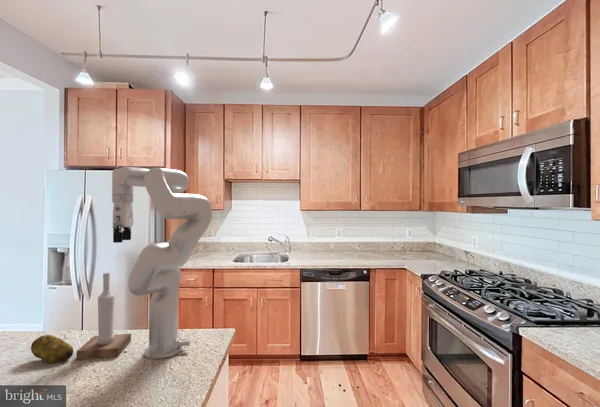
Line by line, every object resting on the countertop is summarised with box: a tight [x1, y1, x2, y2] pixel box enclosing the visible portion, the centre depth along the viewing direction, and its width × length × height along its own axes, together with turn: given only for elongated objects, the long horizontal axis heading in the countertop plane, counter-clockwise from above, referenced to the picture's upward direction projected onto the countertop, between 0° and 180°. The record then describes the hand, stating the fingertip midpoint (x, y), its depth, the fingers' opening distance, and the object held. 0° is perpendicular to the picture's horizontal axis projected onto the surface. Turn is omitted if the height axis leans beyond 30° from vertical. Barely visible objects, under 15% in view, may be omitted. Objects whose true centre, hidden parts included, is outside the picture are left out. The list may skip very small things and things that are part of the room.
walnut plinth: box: [76, 333, 132, 361], centre depth 115 cm, size 13×13×3 cm
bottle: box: [97, 272, 115, 345], centre depth 115 cm, size 5×5×25 cm
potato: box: [30, 334, 74, 364], centre depth 108 cm, size 8×13×8 cm, turn 67°
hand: (122, 241), depth 129 cm, fingers open, 9 cm apart
